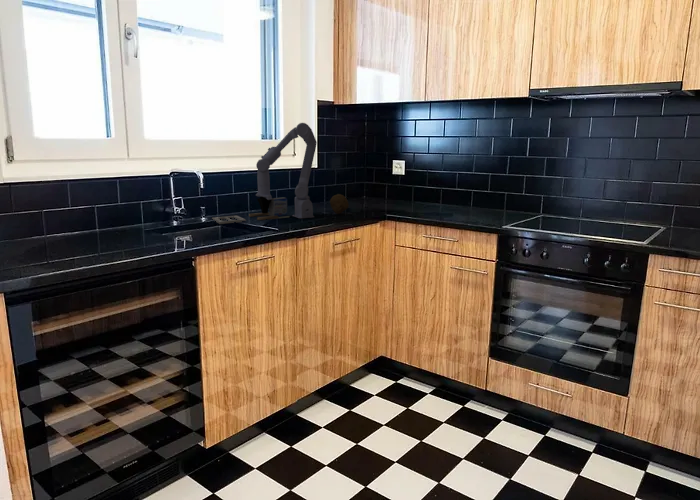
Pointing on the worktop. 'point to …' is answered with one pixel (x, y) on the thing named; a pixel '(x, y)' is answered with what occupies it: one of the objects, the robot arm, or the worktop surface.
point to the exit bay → (284, 217)
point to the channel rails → (263, 215)
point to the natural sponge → (339, 203)
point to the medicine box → (278, 207)
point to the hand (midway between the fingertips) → (264, 213)
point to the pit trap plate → (228, 219)
